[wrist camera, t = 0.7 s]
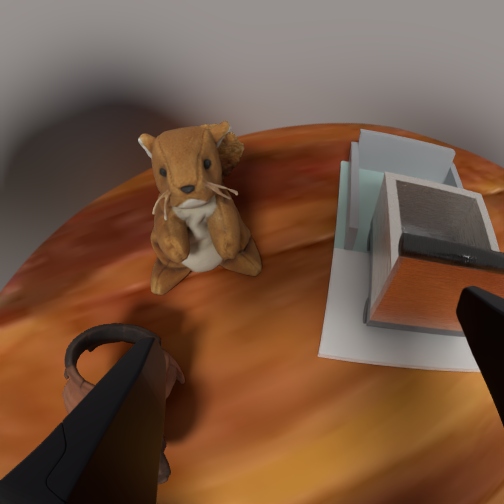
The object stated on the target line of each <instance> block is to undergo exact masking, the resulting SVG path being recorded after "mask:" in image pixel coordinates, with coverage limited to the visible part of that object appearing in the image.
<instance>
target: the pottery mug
mask: <svg viewBox="0 0 504 504" xmlns="http://www.w3.org/2000/svg"><path fill="white" fill-rule="evenodd" d="M142 337H156V338H157V340H158V342H159V344H160V347H161V338H160V337H159V336H157V335H156V334H155V333H153V332H151V331H149V330H147V329H145V328H143V327H140V326H137V325H131V324H121V323H112V324H103V325H99V326H95V327H92V328H90V329H88V330H86V331H84V332H83V333H81V334H80V335H78V336H77V337H76V338H75V339H73V341H72V342H71V343H70V345H69V346H68V348H67V350H66V354H65V367H66V369H65V373H64V376H65V378H66V379H68V378H70V379H69V381H68V382H67V383H66V386H65V387H64V391H63V399H64V404H65V407H66V410H67V412H68V414H69V413H70V412H71V411H72V410H73V409H74V408H75V407H76V406H77V404H78V403H79V402H80V401H81V400H82V399H83V398H84V397H85V396H86V395H87V394H88V393H89V392H90V391H91V389H92V388H93V387H94V386H95V385H93V384H91V383H89V382H88V381H86V380H85V379H84V378H83V377H82V376H81V375H80V374H79V372H78V370H77V368H76V364H77V360H78V358H79V357H80V355H81V354H82V353H83V352H84V351H85V350H88V351H89V352H91V351H93V350H94V349H95V348H96V347H98V346H100V345H102V344H106V343H115V342H120V341H124V342H127V343H132V344H135V343H136V342H137V341H138V340H139V339H140V338H142ZM161 349H162V351H163V354H164V356H165V359H166V399H167V397H168V396H169V394H170V392H171V390H172V388H173V385H174V383H175V381H176V378H177V380H178V381H179V382H180V383H182V384H184V383H185V377H184V375H183V373H182V370H181V368H180V366H179V365H178V363H177V362H176V361H175V360H174V358H172V357H171V356H170V354H168V353H167V351H165V350H164V349H163V348H162V347H161ZM164 437H165V436H164V433H163V437H162V446H161V455H160V465H159V475H158V484H161V483H164V482H166V481H167V480H168V477H169V475H170V474H171V470H170V466H169V463H168V461H167V459H166V457H165V454H164V453H163V452H164V450H165V448H166V442H165V440H164V439H163V438H164Z"/></svg>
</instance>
